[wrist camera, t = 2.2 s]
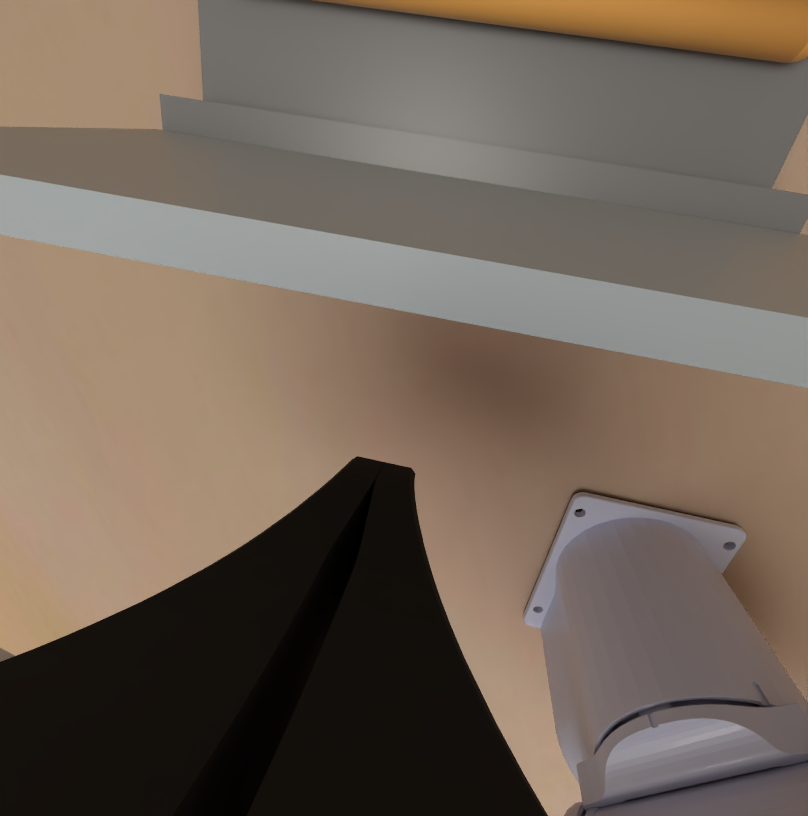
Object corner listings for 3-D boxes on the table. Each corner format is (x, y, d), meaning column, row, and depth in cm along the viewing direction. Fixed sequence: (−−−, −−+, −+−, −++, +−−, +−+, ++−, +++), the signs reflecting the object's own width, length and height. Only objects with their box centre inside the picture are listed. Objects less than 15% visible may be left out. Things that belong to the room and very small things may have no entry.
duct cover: (806, 234, 12) (788, 263, 12) (156, 129, 13) (161, 157, 14) (1385, 419, 4) (1278, 477, 5) (-298, 121, 6) (-254, 186, 6)
